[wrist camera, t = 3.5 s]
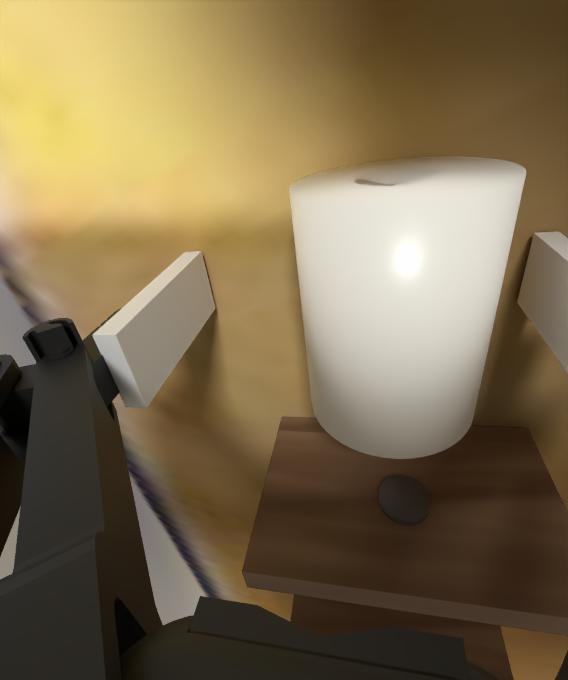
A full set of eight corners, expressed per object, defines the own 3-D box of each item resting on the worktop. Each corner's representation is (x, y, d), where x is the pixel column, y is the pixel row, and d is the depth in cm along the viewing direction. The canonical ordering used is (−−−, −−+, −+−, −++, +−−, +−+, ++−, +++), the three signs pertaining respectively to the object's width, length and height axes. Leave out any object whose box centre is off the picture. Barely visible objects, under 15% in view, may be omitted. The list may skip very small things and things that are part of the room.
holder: (281, 411, 20) (239, 566, 14) (529, 422, 17) (626, 620, 11) (304, 550, 28) (285, 693, 21) (479, 572, 25) (519, 742, 19)
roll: (267, 179, 12) (338, 221, 7) (430, 150, 13) (593, 170, 8) (293, 372, 16) (348, 482, 11) (414, 339, 17) (514, 428, 12)
